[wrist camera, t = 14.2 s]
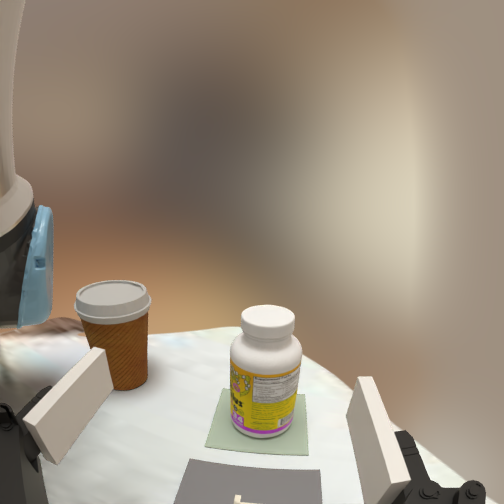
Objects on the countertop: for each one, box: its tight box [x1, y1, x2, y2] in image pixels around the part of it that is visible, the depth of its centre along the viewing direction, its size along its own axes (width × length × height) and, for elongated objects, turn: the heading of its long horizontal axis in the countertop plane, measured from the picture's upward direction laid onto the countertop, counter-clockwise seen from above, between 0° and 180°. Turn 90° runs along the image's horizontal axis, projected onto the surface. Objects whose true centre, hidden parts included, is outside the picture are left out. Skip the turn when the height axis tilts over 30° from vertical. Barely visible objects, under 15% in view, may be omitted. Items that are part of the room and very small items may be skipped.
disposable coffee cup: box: [74, 280, 151, 390], centre depth 33 cm, size 10×10×12 cm
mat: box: [205, 388, 309, 455], centre depth 29 cm, size 10×10×1 cm
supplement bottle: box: [230, 305, 302, 438], centre depth 27 cm, size 7×7×13 cm
